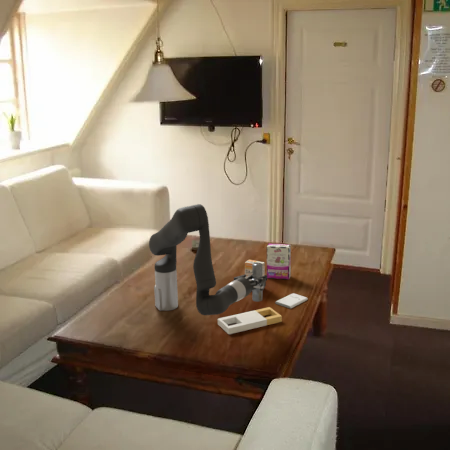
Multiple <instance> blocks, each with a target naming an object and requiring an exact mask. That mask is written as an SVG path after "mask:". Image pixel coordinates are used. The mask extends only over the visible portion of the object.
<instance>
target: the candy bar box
mask: <svg viewBox="0 0 450 450" xmlns="http://www.w3.org/2000/svg"><path fill="white" fill-rule="evenodd" d="M291 249H292V248H291V244H286V243H285V244H284V243H283V244H282V243H267V246H266V275H267V279H276V280H290V278H291V274H292V273H291V269H292V268H291V264H292V263H291V262H292V261H291V257H292V256H291V252H292V251H291Z"/></svg>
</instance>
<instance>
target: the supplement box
mask: <svg viewBox="0 0 450 450" xmlns="http://www.w3.org/2000/svg"><path fill="white" fill-rule="evenodd" d="M253 263H262V276H264V275H266V274H265V273H266V271H265V270H266V269H265V262H264V261H260V260H254V259H248V260H246V261H245V262H244V275H246V276H248V275H252V264H253Z"/></svg>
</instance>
